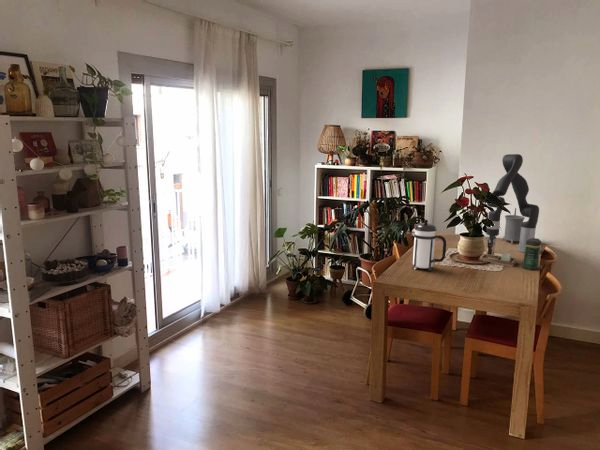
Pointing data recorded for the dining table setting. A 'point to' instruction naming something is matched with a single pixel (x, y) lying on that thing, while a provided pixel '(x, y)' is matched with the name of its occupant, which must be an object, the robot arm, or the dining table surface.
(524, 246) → the robot arm
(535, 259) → the coffee jar
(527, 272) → the dining table surface
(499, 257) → the walnut tray
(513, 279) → the dining table surface
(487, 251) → the peach oval shape
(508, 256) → the sage block
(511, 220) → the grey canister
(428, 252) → the coffee press
